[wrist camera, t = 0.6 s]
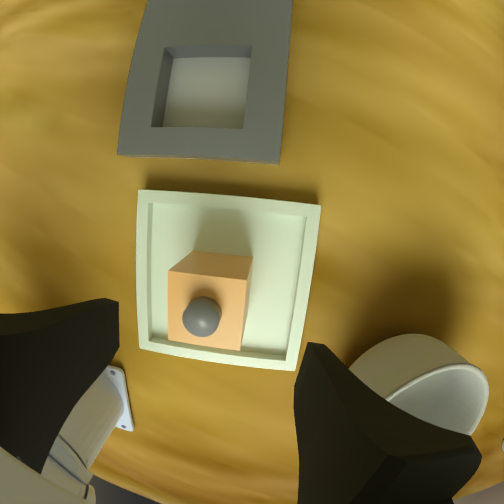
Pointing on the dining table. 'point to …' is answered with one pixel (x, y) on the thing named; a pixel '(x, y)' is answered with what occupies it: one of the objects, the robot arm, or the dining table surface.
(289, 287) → the tray
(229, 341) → the orange plug
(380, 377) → the teacup
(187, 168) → the dining table surface
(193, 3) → the grey socket board
